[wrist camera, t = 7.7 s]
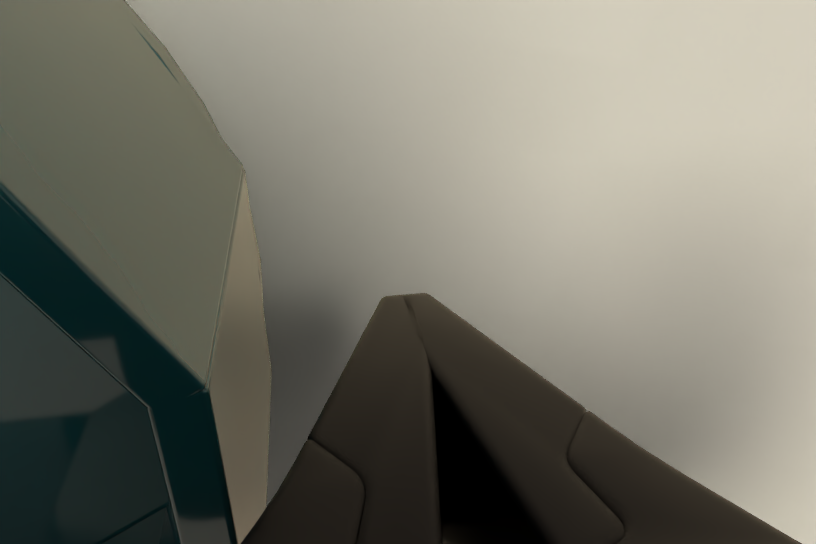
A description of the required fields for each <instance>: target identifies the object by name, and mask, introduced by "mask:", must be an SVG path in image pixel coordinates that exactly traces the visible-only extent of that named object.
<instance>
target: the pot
mask: <svg viewBox="0 0 816 544" xmlns="http://www.w3.org/2000/svg"><path fill="white" fill-rule="evenodd" d="M271 375H272V369H271V362H270V354H269V347H268V339H267V332H266V324H265V317H264V309H263V289H262V271H261V258H260V253H259V248H258V244H257V239H256V234H255V229H254V224H253V219H252V215H251V210H250V204H249V197H248V189H247V182H246V174H245V170H244V169H243V166H242V164H241V162H240V161H239V160H238V158H237V157H236V156H235V155H234V153H233V152H232V151H231V150H230V148H229V147H228V146H227V144H226V143H225V142H224V141H223V139H222V138H221V136H220V134H219V132H218V130H217V128H216V126H215V124H214V122H213V121H212V119H211V117H210V115H209V113H208V111H207V109H206V107H205V105H204V103H203V102H202V100H201V99H200V97H199V96H198V94H197V93H196V91H195V90H194V89H193V87H192V86H191V84H190V83H189V81H188V80H187V78H186V77H185V75H184V74H183V72H182V71H181V69H180V68H179V67H178V65H177V64H176V62H175V61H174V59H173V58H172V56H171V55H170V53H169V52H168V50H167V49H166V48H165V46H164V45H163V44H162V43H161V42H160V41H159V39H158V38H157V37H156V36H155V35H154V34H153V33H152V31H151V30H150V29H149V28H148V27H147V26H146V24H145V23H144V22H143V21H142V20H141V19H140V18H139V16H138V15H137V14H136V13H135V12H134V11H133V9H132V8H131V7H130V6H129V5H128V4H127V3H126V1H125V0H0V544H241V542H242V541H243V540H244V538H245V537H246V536H247V534H248V533H249V532H250V530H251V529H252V527H253V526H254V525H255V523H256V522H257V520H258V519H259V517H260V516H261V515H262V513H263V512H264V510H265V509H266V501H267V476H268V451H269V426H270V400H271Z"/></svg>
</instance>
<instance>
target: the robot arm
mask: <svg viewBox="0 0 816 544" xmlns="http://www.w3.org/2000/svg"><path fill="white" fill-rule="evenodd" d="M241 544H801V543H800V542H798V541H796V540H794V539H792V538H791V537H789V536H787V535H786V534H784V533H782V532H781V531H779V530H777V529H775V528H774V527H772V526H770V525H769V524H767V523H765V522H764V521H762V520H760V519H759V518H757V517H755V516H753V515H752V514H750V513H748V512H747V511H745V510H743V509H742V508H740V507H738V506H737V505H735V504H733V503H732V502H730V501H728V500H726V499H725V498H723V497H721V496H720V495H718V494H716V493H715V492H713V491H711V490H710V489H708V488H706V487H704V486H703V485H701V484H699V483H698V482H696V481H694V480H693V479H691V478H689V477H688V476H686V475H684V474H683V473H681V472H680V471H678V470H676V469H675V468H673V467H671V466H670V465H668V464H667V463H665V462H663V461H662V460H660V459H659V458H657V457H655V456H654V455H652V454H650V453H649V452H647V451H646V450H644V449H643V448H641V447H640V446H638V445H637V444H636V443H634V442H633V441H631V440H630V439H628V438H627V437H625V436H624V435H622V434H621V433H619V432H618V431H617V430H615V429H614V428H612V427H611V426H609V425H608V424H607V423H605V422H604V421H603V420H601V419H600V418H598V417H597V416H596V415H594V414H593V413H592V412H590V411H587V412H586V409H585V408H584V407H583V406H582V405H580V404H579V403H577V402H576V401H575V400H573V399H572V398H571V397H569V396H568V395H566V394H565V393H564V392H562V391H561V390H560V389H558V388H557V387H555V386H554V385H553V384H551V383H550V382H549V381H547V380H546V379H544V378H543V377H542V376H540V375H539V374H538V373H536V372H535V371H533V370H532V369H531V368H529V367H528V366H527V365H525V364H524V363H522V362H521V361H520V360H518V359H517V358H516V357H514V356H513V355H511V354H510V353H509V352H507V351H506V350H505V349H503V348H502V347H500V346H499V345H498V344H496V343H495V342H494V341H492V340H491V339H489V338H488V337H487V336H485V335H484V334H483V333H481V332H480V331H478V330H477V329H476V328H474V327H473V326H472V325H470V324H469V323H467V322H466V321H465V320H463V319H462V318H461V317H459V316H458V315H456V314H455V313H454V312H452V311H451V310H450V309H448V308H447V307H445V306H444V305H443V304H441V303H440V302H439V301H437V300H436V299H434V298H433V297H432V296H430V295H429V294H427V293H418V294H406V295H394V296H385V297H383V298H382V299H381V300H380V302H379V304H378V306H377V308H376V309H375V311H374V313H373V315H372V317H371V319H370V321H369V323H368V325H367V327H366V328H365V330H364V332H363V334H362V336H361V338H360V340H359V342H358V344H357V345H356V347H355V349H354V351H353V353H352V355H351V357H350V359H349V361H348V362H347V364H346V366H345V368H344V370H343V372H342V374H341V376H340V378H339V379H338V381H337V383H336V385H335V387H334V389H333V391H332V393H331V395H330V397H329V398H328V400H327V402H326V404H325V406H324V408H323V410H322V412H321V414H320V415H319V417H318V419H317V421H316V423H315V425H314V427H313V429H312V431H311V432H310V434H309V436H308V440H307V441H306V442H305V443H304V445H303V447H302V449H301V451H300V453H299V455H298V456H297V458H296V460H295V462H294V464H293V466H292V467H291V469H290V471H289V472H288V474H287V476H286V478H285V479H284V481H283V483H282V484H281V486H280V488H279V489H278V491H277V493H276V494H275V496H274V497H273V499H272V500H271V502H270V503H269V504H268V506H267V507H266V509H265V510H264V512H263V513H262V515H261V516H260V517H259V519H258V520H257V522H256V523H255V525H254V526H253V527H252V529H251V530H250V532H249V533H248V534H247V536H246V537H245V538H244V540H243V541H242V542H241Z"/></svg>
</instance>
